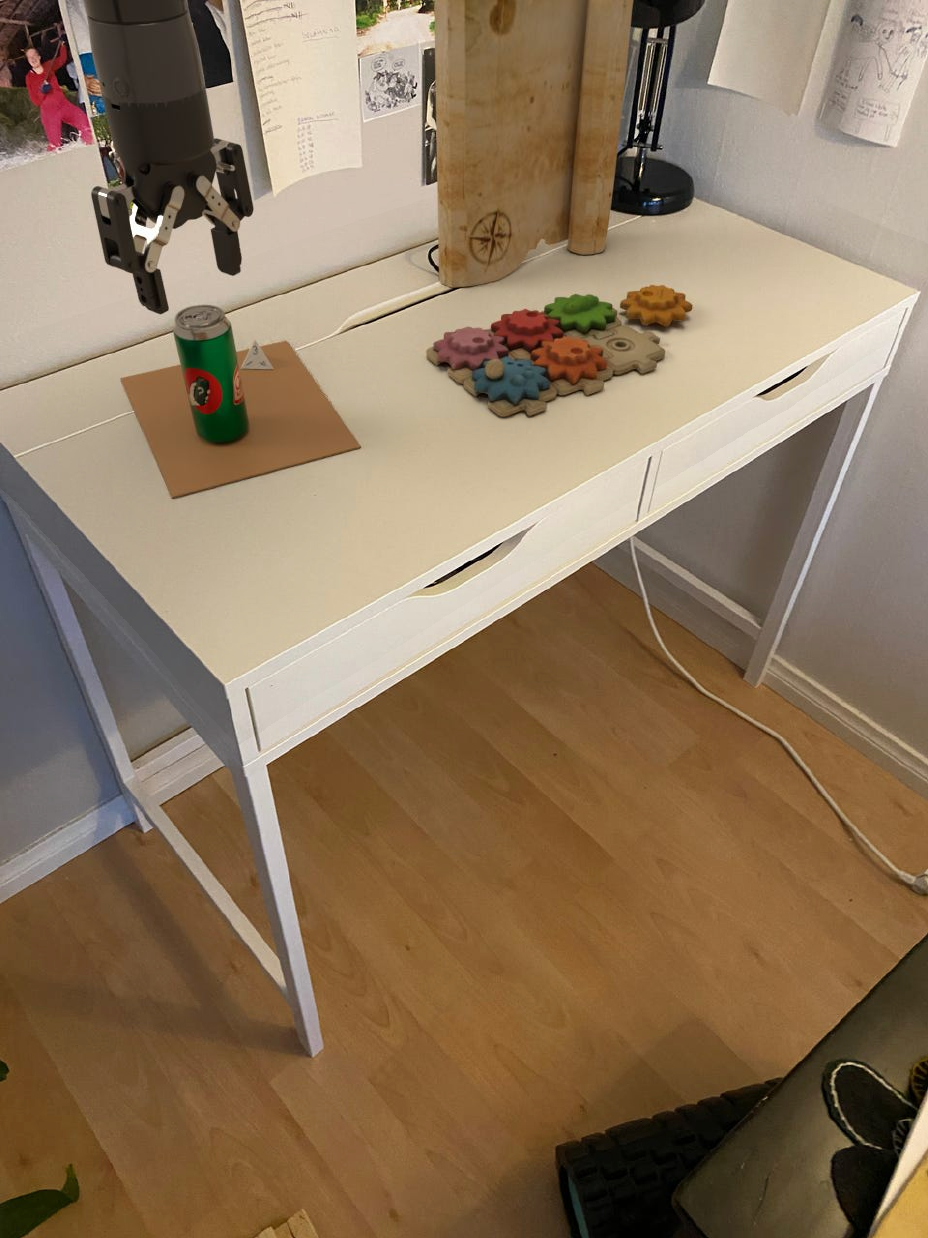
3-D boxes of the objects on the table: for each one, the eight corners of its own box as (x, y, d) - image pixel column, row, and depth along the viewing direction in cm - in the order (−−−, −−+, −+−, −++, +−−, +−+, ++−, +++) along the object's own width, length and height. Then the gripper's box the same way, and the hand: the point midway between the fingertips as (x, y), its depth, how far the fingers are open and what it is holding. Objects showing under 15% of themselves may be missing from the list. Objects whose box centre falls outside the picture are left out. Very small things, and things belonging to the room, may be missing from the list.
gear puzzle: (641, 283, 114) (645, 250, 112) (737, 340, 105) (745, 305, 102) (419, 356, 102) (418, 320, 99) (505, 427, 93) (506, 391, 90)
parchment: (449, 292, 113) (447, -5, 91) (427, 270, 117) (420, -19, 95) (616, 253, 120) (650, -30, 99) (590, 234, 124) (617, -42, 103)
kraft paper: (172, 498, 85) (171, 497, 85) (120, 379, 99) (120, 377, 99) (360, 447, 90) (360, 446, 90) (286, 341, 104) (286, 340, 104)
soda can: (255, 440, 91) (234, 323, 82) (202, 451, 90) (175, 334, 81) (243, 412, 94) (222, 298, 86) (192, 423, 93) (165, 307, 84)
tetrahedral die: (261, 383, 100) (264, 362, 97) (240, 368, 100) (243, 346, 98) (282, 368, 102) (286, 347, 99) (262, 354, 102) (265, 332, 100)
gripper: (186, 51, 76) (221, 250, 87) (39, 97, 68) (99, 311, 79) (256, 67, 73) (283, 271, 85) (112, 118, 65) (163, 337, 76)
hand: (194, 290), depth 82 cm, fingers open, 8 cm apart
